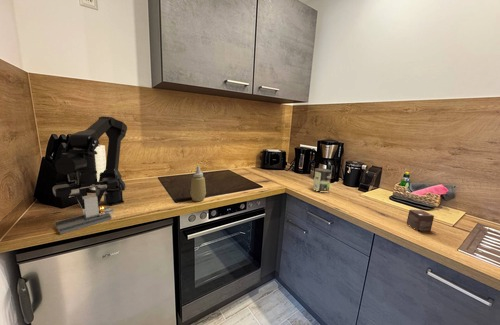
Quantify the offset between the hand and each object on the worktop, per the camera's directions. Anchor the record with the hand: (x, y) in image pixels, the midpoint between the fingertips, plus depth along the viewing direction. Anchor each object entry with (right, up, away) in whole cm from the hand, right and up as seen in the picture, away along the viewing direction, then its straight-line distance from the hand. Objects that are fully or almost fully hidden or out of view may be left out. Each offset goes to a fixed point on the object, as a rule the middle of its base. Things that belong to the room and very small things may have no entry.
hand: (90, 207), depth 76 cm
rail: (-2, -6, -1) cm, 6 cm away
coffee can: (+109, -1, +55) cm, 122 cm away
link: (+1, -4, +3) cm, 5 cm away
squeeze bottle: (+35, -3, +27) cm, 44 cm away
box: (+136, -12, +10) cm, 136 cm away
